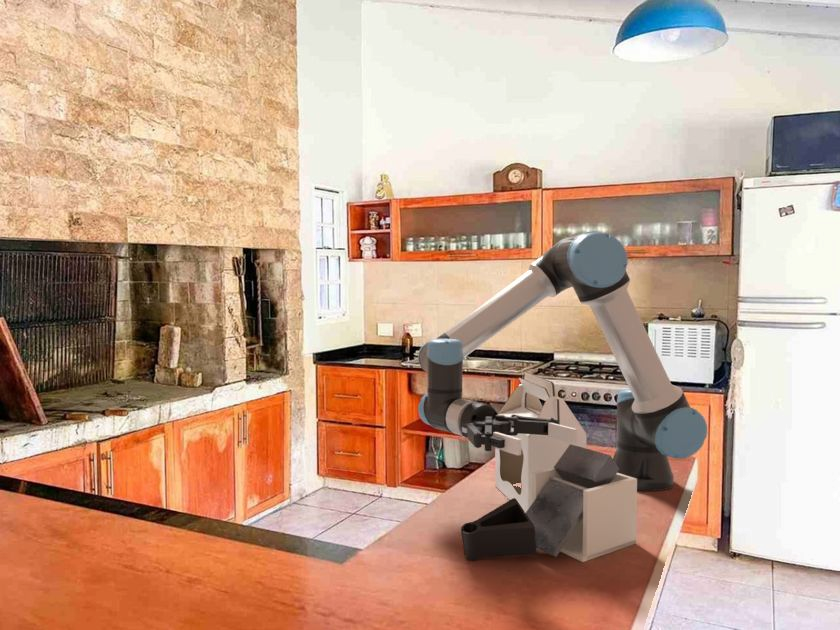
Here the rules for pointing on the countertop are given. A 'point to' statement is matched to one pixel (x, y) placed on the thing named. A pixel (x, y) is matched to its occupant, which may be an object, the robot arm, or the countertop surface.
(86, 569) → the countertop surface
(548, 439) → the gable box
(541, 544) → the trapdoor
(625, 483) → the frame
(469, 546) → the phone stand
